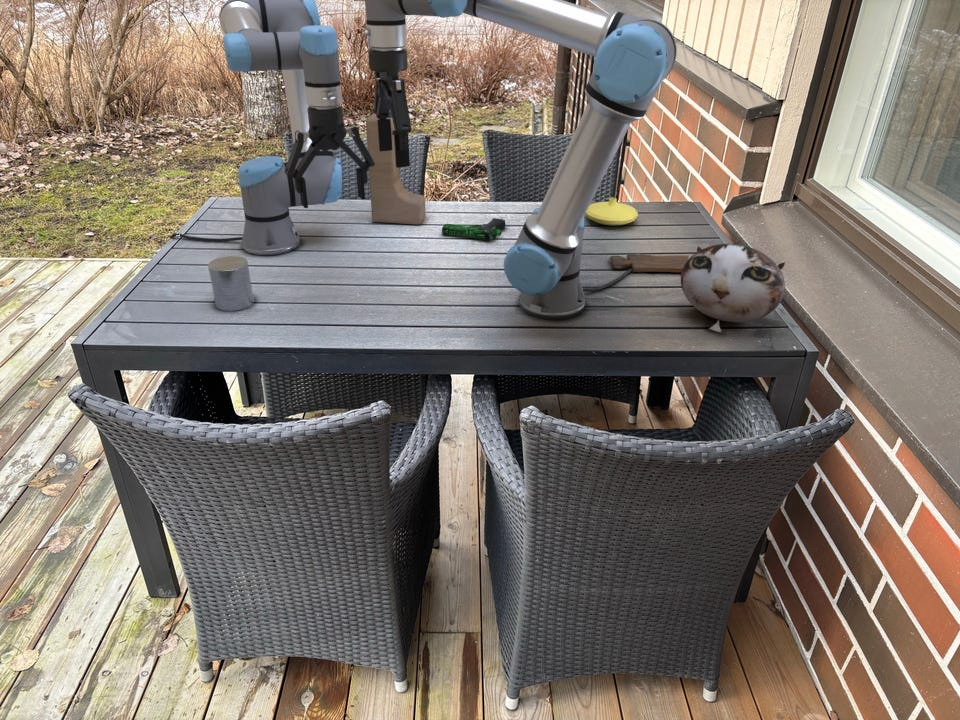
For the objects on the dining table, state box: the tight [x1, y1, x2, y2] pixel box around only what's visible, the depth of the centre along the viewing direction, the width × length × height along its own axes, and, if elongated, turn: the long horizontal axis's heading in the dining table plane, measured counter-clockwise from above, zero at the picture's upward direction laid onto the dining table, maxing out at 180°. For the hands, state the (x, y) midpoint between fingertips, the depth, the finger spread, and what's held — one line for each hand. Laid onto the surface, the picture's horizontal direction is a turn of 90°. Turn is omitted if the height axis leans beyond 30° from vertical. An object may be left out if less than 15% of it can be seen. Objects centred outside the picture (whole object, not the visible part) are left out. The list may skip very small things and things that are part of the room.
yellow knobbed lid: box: [585, 197, 639, 227], centre depth 215 cm, size 16×16×7 cm
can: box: [207, 255, 255, 312], centre depth 164 cm, size 8×8×10 cm
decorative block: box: [365, 113, 426, 226], centre depth 208 cm, size 8×15×30 cm, turn 82°
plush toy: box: [680, 243, 786, 333], centre depth 158 cm, size 22×18×20 cm
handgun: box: [441, 217, 506, 242], centre depth 207 cm, size 16×3×15 cm
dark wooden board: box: [609, 253, 690, 274], centre depth 188 cm, size 26×2×10 cm
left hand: (333, 201), depth 164 cm, fingers open, 13 cm apart
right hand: (394, 158), depth 149 cm, fingers open, 13 cm apart
